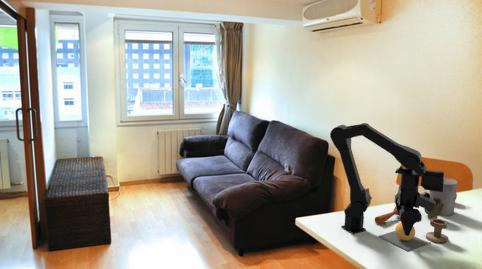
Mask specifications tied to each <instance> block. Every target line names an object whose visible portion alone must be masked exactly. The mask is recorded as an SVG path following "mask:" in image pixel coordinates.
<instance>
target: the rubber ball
mask: <svg viewBox="0 0 482 269" xmlns="http://www.w3.org/2000/svg"><path fill="white" fill-rule="evenodd" d="M394 231H395V233H396V235H397V237H398V238H399V239H401V240H404V241H409V240H411V239H412V238H413V237H414V236H415V235H416V228H415V226H413V227H412V229H411V232H410V234H409V236H406V235H405V233H404V229H403V226H402V223H401V221H400V222H399V223H398V224H396V225H395V228H394Z"/></svg>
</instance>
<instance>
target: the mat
mask: <svg viewBox="0 0 482 269" xmlns="http://www.w3.org/2000/svg"><path fill="white" fill-rule="evenodd" d="M378 238H379V239H381V240H383V241H386V242H388V243H389V244H392V245H394V246H396V247H398V248H400V249H402V250H404V251H406V252H409V251H413V250H415V249H419V248H421V247H424V246H426V245H430V244H431V242H432V241H429V240H428V239H426V238H424V237H420V236H418V235H416V234H415V236H414V237H413V238H412V239H411V240H409V241H404V240H401V239H399V238H398V237H397V235H396V233H395V230H393V231H389V232H388V233H387V232H386V233H384V234H380V235H378Z"/></svg>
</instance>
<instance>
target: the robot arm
mask: <svg viewBox="0 0 482 269" xmlns="http://www.w3.org/2000/svg"><path fill="white" fill-rule="evenodd" d="M329 136H330V139H331V141H332V143H333V146H334V147H335V149H336V150H337V151H338V152H339V156H340V159H341V163H342V166H343V169H344V172H345V177H346V179H347V182H348V186H349V202H350V203H348V205H347V206H346V207H345V209H344V210H343V211H344V225H343V224H342V225H341V228H342V229H343V230H346V231H347V232H349V233H352V234H357V233H361V232H365V231H366V230H367V229H366V228H365V227H364V219H365V212H366V211H367V209H369V207H370V205H371V202H372V201H371V200H372V199H373V197H372V196H371V193H370V189H369V187H368V188H365V187H364V186H363V183H362V180H361V176H360V174H359V169H358V168H357V164H356V161H355V157H354V154H353V153H354V152H353V151H352V139H353V138H356V137H357V138H358V137H361V136H362V137H364V138H365V139H367V140H368V141H370V142H371V143H373V144H374V145H377V146H378V147H380V148H381V149H383V150H385V152H387V153H389V154H390V155H392V157H394V159H395V160H396V161H397V162H398V163H399V164H400V167H398V168H396V170H395V171H394V173H395V174H399V175H400V183H399V184H400V185H399V187H398V191H399V193H397V194H395V195H394V203H395V206H396V208H397V211H398V214H399V215H398V217H399V221H400V222H401V223H402V226H403V229H404V233H405V235H406V236H409V234H410V232H411V229H412V227H414V225H415V224H417V223H419V222H422V218H423V215H422V213H421V211H420V210H419V208H423V209H424V208H425V209H427V210H428V211H431V212H432V210H433V209H434V207H435V205H436V202H435V201H434V200H433V199H432V198H430V191H437V192H443V186H444V177H445V171H444V170H443V171H442V170H433V169H432V170H431V169H428V168H427V165H426V164H425V163H424V162H423V160H422V159H423V157H422V154H421V153H420V152H419V151H418V150H417V149H414V148H412V147H410V146H407V145H402V144H400V143H398V142H396V141H395V140H393V139H391V138H390V137H388V136H387V135H385V134H383V133H382V132H381V131H379V130H378V129H375V128H374V127H373V126H371V125H370V124H369V123H367V122H364V123H359V124H354V125H349V126H348V125H345V124H340V125H337V126H336V127H333V128H332V130H331V131H330V133H329ZM420 177H421V178H420ZM419 185H420V187H422V189H423V190H424V192H423V193H420V192H419ZM427 191H429V192H427Z"/></svg>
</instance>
